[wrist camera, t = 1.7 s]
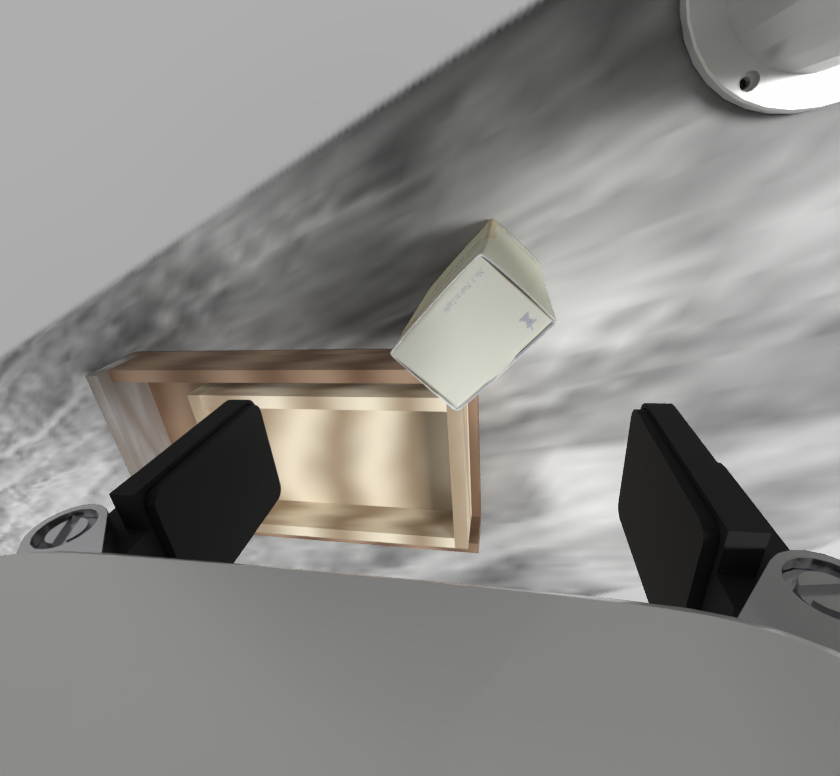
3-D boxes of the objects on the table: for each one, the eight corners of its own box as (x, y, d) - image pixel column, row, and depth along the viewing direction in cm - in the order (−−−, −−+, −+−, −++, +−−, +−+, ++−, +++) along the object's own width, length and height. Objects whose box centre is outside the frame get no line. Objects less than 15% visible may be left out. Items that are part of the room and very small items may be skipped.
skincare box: (492, 216, 27) (482, 241, 16) (541, 264, 28) (564, 319, 17) (427, 289, 30) (383, 352, 19) (474, 331, 30) (457, 415, 20)
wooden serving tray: (476, 347, 31) (472, 376, 27) (481, 518, 38) (477, 563, 33) (136, 351, 37) (85, 375, 32) (193, 499, 43) (158, 535, 39)
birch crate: (466, 372, 31) (461, 398, 27) (471, 512, 36) (467, 549, 33) (219, 372, 35) (186, 395, 31) (258, 499, 40) (234, 530, 37)
